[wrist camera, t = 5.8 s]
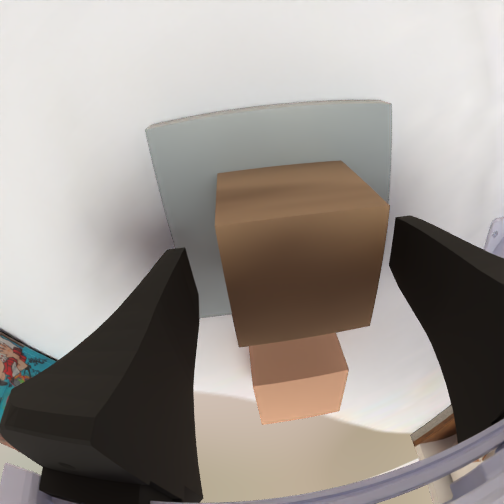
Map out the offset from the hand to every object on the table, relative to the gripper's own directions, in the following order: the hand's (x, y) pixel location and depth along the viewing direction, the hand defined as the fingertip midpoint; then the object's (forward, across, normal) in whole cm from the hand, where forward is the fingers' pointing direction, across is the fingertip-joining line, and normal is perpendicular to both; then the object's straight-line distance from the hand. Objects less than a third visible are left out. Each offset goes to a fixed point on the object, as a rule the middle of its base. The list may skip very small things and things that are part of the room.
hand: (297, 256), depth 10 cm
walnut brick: (+2, 0, 0) cm, 2 cm away
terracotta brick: (+4, 0, +9) cm, 10 cm away
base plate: (+3, 0, 0) cm, 3 cm away
